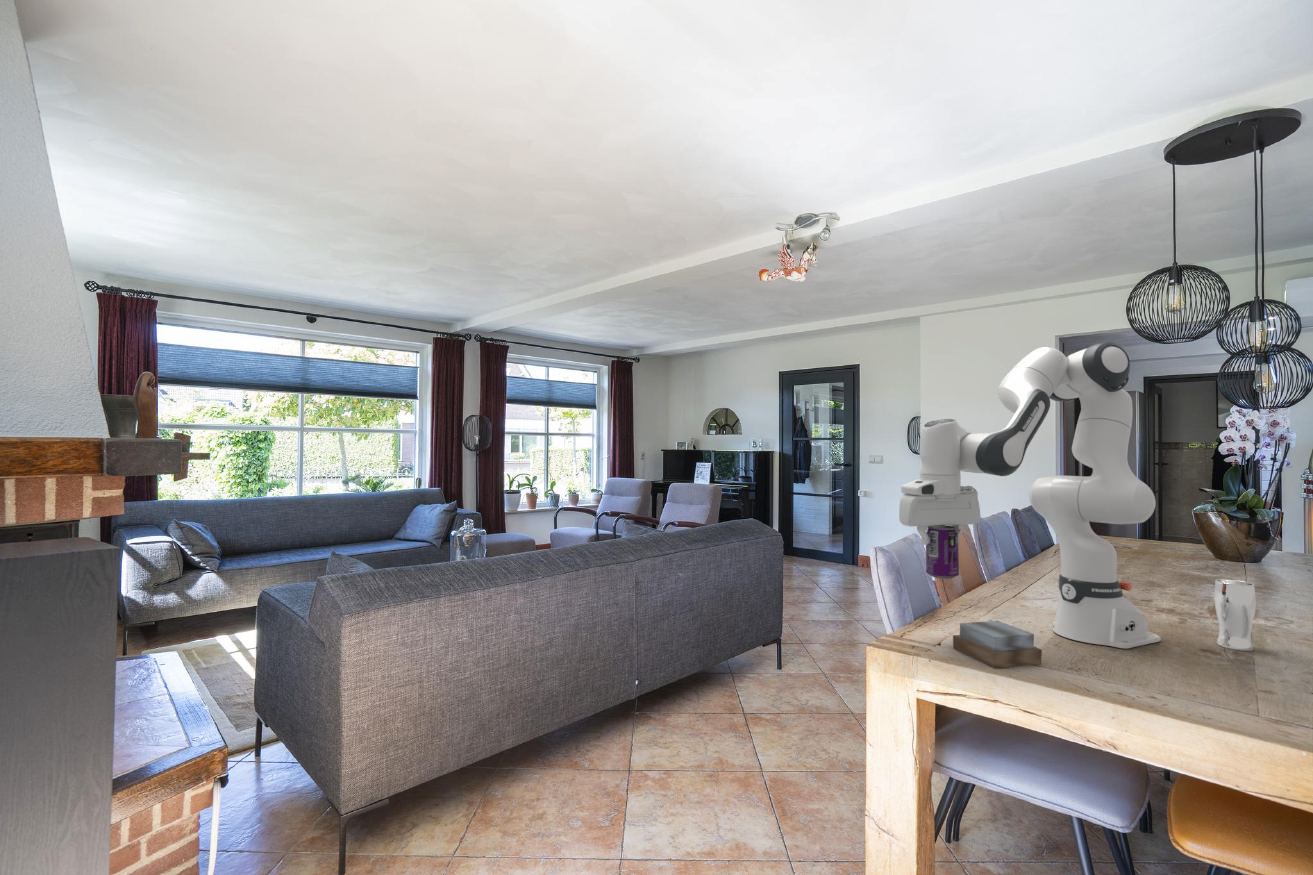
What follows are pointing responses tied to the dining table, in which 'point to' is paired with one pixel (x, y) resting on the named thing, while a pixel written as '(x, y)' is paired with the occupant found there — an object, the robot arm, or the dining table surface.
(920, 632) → the dining table surface
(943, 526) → the beverage can
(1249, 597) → the beer glass
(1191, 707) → the dining table surface
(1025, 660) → the stepped plinth
